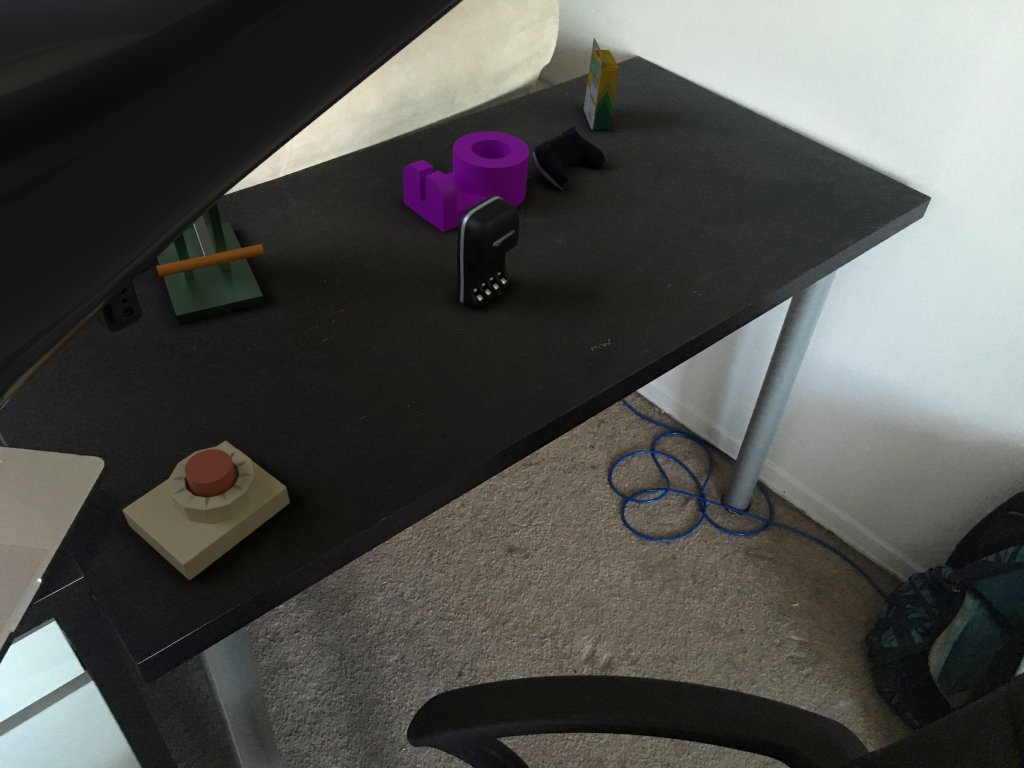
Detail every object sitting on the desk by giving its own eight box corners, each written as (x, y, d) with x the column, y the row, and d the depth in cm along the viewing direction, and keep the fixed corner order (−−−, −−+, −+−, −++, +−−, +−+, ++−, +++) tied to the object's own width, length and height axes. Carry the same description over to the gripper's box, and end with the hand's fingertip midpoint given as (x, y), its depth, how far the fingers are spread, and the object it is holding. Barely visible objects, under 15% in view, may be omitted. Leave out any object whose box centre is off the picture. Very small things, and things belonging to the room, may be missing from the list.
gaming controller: (589, 174, 116) (566, 131, 115) (610, 161, 113) (586, 117, 112) (546, 200, 110) (520, 155, 109) (567, 188, 106) (540, 141, 105)
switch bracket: (264, 304, 86) (242, 192, 77) (178, 324, 83) (145, 209, 73) (230, 229, 96) (207, 122, 87) (153, 244, 93) (120, 135, 83)
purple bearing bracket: (493, 167, 112) (495, 125, 107) (540, 196, 106) (544, 153, 102) (400, 200, 103) (399, 157, 99) (446, 234, 98) (447, 190, 94)
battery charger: (480, 316, 87) (484, 227, 79) (454, 302, 89) (455, 213, 81) (519, 288, 91) (526, 201, 83) (493, 275, 93) (498, 188, 85)
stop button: (208, 504, 62) (203, 490, 61) (180, 481, 64) (175, 467, 62) (245, 477, 64) (241, 464, 63) (217, 456, 66) (213, 442, 64)
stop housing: (189, 581, 61) (177, 551, 58) (129, 526, 64) (115, 495, 62) (290, 503, 67) (283, 472, 64) (230, 456, 70) (221, 425, 68)
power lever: (265, 261, 80) (263, 246, 78) (161, 283, 76) (157, 268, 74) (229, 168, 85) (227, 152, 83) (130, 185, 81) (125, 168, 79)
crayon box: (610, 131, 122) (622, 55, 114) (591, 131, 122) (602, 55, 114) (601, 110, 127) (611, 36, 119) (583, 110, 127) (592, 36, 119)
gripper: (180, 42, 35) (243, 338, 47) (16, -31, 40) (110, 252, 52) (15, 92, 30) (131, 405, 42) (-146, 2, 36) (-2, 304, 48)
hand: (120, 320), depth 47 cm, fingers closed
